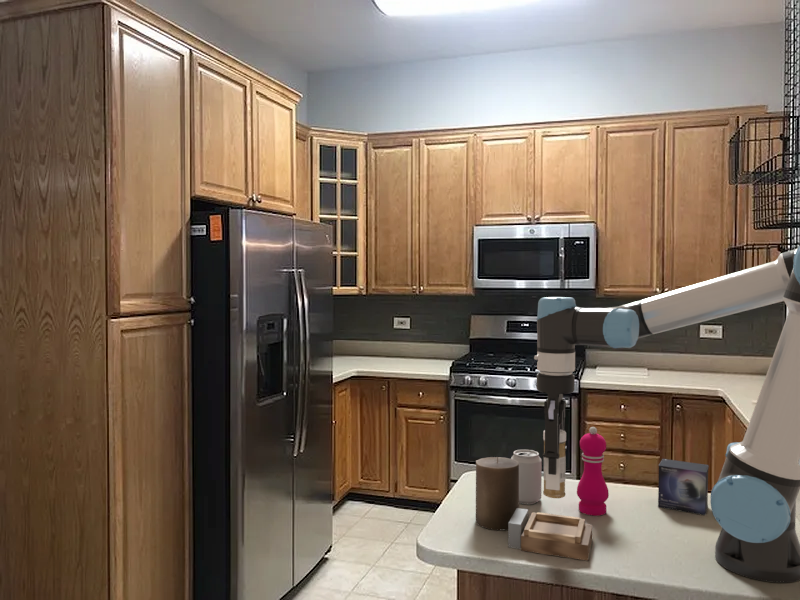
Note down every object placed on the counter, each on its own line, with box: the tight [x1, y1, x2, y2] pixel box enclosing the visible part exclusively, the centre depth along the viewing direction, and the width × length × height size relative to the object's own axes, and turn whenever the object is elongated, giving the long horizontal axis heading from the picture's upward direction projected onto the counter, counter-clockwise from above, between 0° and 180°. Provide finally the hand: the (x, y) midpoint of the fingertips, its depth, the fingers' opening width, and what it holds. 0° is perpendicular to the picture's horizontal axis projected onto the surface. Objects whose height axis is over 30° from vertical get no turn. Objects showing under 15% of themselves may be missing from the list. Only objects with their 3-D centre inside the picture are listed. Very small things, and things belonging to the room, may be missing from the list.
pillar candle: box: [475, 456, 520, 531], centre depth 143 cm, size 10×10×15 cm
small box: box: [657, 458, 710, 516], centre depth 152 cm, size 11×6×10 cm, turn 60°
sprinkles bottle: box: [542, 429, 567, 499], centre depth 131 cm, size 5×5×13 cm
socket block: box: [520, 511, 594, 561], centre depth 131 cm, size 13×11×4 cm
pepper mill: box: [576, 426, 610, 517], centre depth 150 cm, size 7×7×20 cm
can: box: [510, 449, 543, 505], centre depth 158 cm, size 8×8×12 cm
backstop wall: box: [507, 507, 529, 550], centre depth 134 cm, size 2×9×5 cm, turn 159°
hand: (554, 485), depth 131 cm, fingers closed on sprinkles bottle, 4 cm apart
